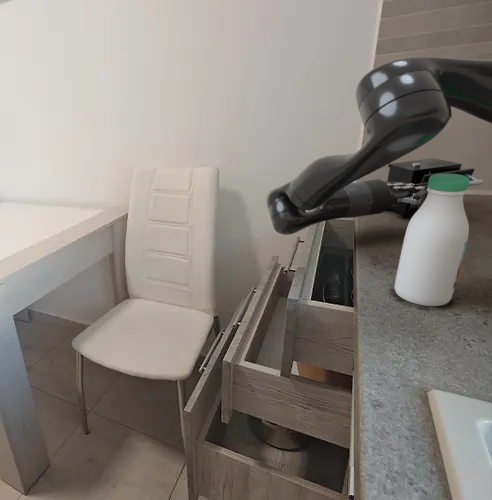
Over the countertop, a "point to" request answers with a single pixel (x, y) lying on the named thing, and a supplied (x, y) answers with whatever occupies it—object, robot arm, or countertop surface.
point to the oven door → (461, 172)
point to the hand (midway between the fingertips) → (433, 188)
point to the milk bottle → (434, 243)
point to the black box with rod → (416, 175)
